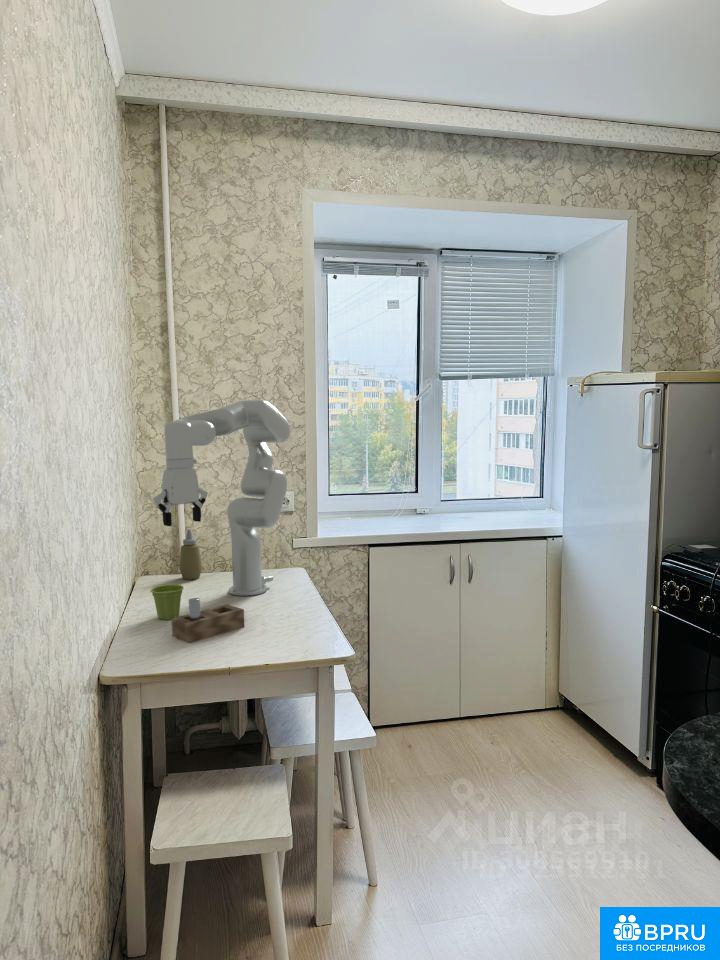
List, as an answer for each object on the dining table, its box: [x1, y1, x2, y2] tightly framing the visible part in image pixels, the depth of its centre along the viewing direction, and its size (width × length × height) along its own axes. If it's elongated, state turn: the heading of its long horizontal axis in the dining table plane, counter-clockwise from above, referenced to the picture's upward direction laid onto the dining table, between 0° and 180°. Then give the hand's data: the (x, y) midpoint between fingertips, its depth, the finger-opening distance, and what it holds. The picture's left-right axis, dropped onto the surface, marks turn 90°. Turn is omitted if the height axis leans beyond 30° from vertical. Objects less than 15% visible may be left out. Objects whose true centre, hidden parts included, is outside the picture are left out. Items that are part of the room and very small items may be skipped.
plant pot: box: [150, 584, 184, 621], centre depth 203 cm, size 9×9×9 cm
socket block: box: [171, 604, 245, 644], centre depth 189 cm, size 18×8×5 cm, turn 137°
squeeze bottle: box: [179, 529, 203, 581], centre depth 250 cm, size 8×8×18 cm
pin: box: [188, 597, 202, 621], centre depth 186 cm, size 3×3×10 cm
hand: (182, 523), depth 200 cm, fingers open, 9 cm apart
